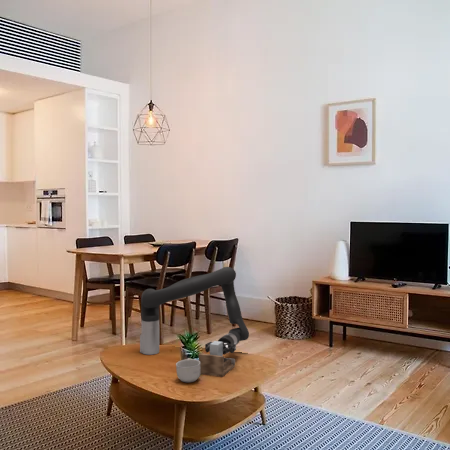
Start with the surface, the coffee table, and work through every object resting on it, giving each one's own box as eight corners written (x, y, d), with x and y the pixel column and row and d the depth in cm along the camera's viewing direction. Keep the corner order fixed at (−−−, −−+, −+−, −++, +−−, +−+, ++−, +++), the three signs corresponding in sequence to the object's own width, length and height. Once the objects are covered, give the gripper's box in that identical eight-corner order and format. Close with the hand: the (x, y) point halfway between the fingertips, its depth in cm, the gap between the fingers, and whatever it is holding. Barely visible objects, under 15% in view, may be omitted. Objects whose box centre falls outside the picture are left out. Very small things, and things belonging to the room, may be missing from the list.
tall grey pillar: (209, 369, 228) (209, 344, 228) (214, 365, 234) (214, 340, 233) (217, 370, 227) (217, 345, 226) (222, 366, 232) (222, 341, 232)
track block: (198, 373, 226) (198, 354, 225) (212, 363, 241) (212, 345, 240) (222, 376, 221) (222, 357, 221) (235, 366, 236) (235, 347, 236)
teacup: (197, 385, 211) (197, 367, 211) (173, 383, 213) (173, 365, 212) (204, 374, 225) (204, 357, 224) (181, 373, 227) (181, 355, 226)
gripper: (214, 333, 246) (200, 341, 230) (241, 336, 240) (229, 345, 225) (214, 348, 246) (200, 357, 231) (241, 351, 241) (229, 361, 226)
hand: (214, 351), depth 228 cm, fingers open, 8 cm apart
